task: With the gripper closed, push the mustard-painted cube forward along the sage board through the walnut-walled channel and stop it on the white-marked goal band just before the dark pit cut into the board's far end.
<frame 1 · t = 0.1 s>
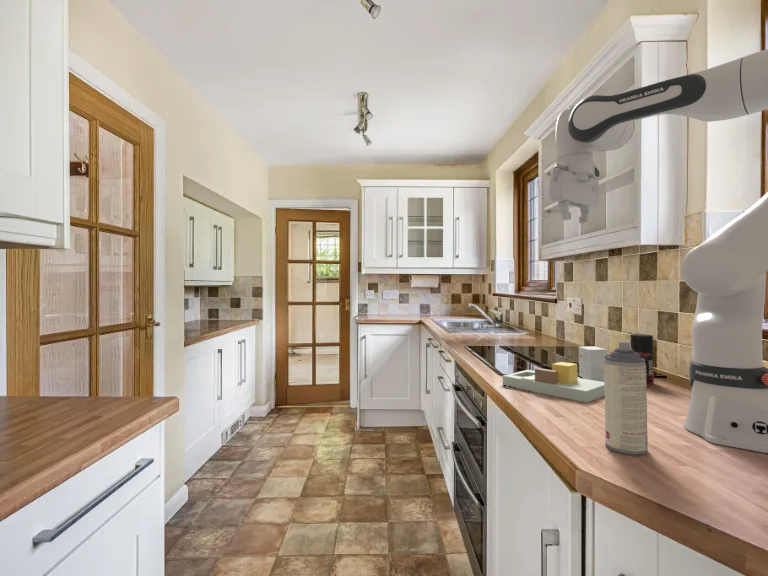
hand: (575, 221, 107), 48 cm above the worktop, tool pointing down, fingers open, 8 cm apart
deodorant: (642, 383, 127), on the worktop
aerosol can: (626, 449, 76), on the worktop
route board: (555, 389, 120), on the worktop
small box: (593, 380, 132), on the worktop
block: (564, 381, 118), point 3 cm above the worktop, touching route board
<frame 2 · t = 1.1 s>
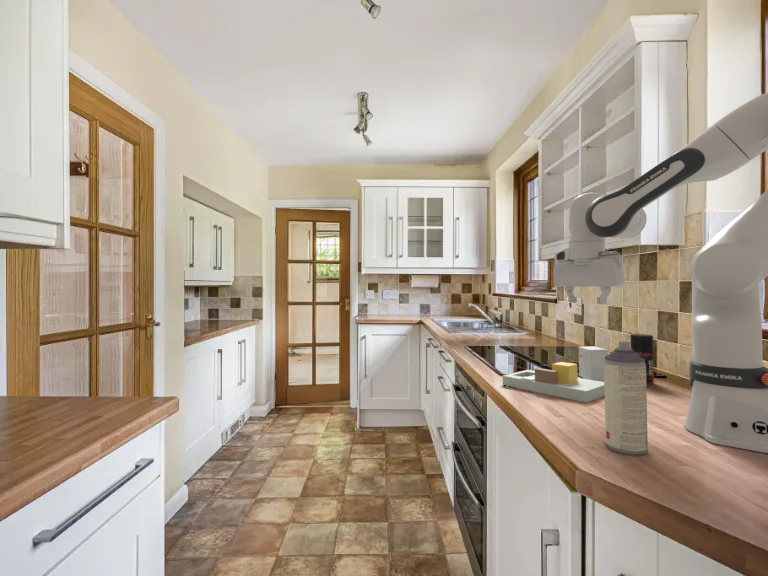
hand: (586, 303, 111), 26 cm above the worktop, tool pointing down, fingers open, 8 cm apart
nothing on the worktop moved.
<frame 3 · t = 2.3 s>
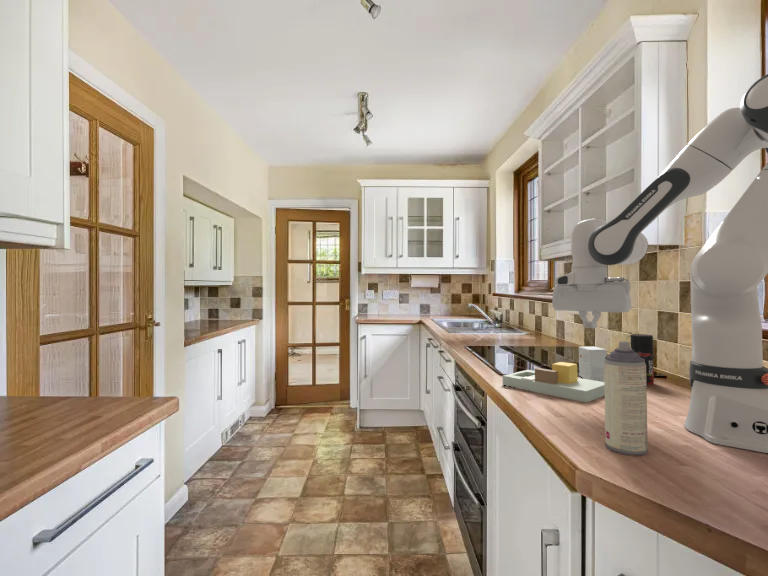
hand: (590, 327, 112), 19 cm above the worktop, tool pointing down, fingers closed
nothing on the worktop moved.
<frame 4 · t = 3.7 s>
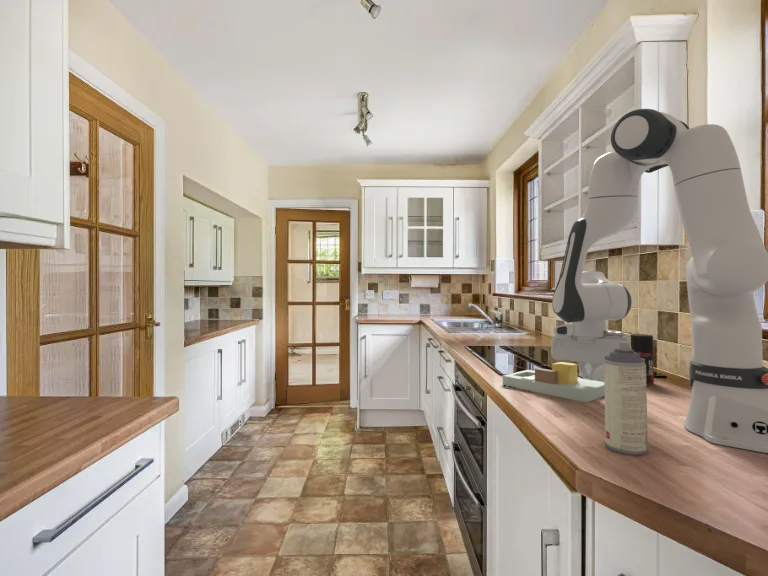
hand: (588, 379, 112), 5 cm above the worktop, tool pointing down, fingers closed
nothing on the worktop moved.
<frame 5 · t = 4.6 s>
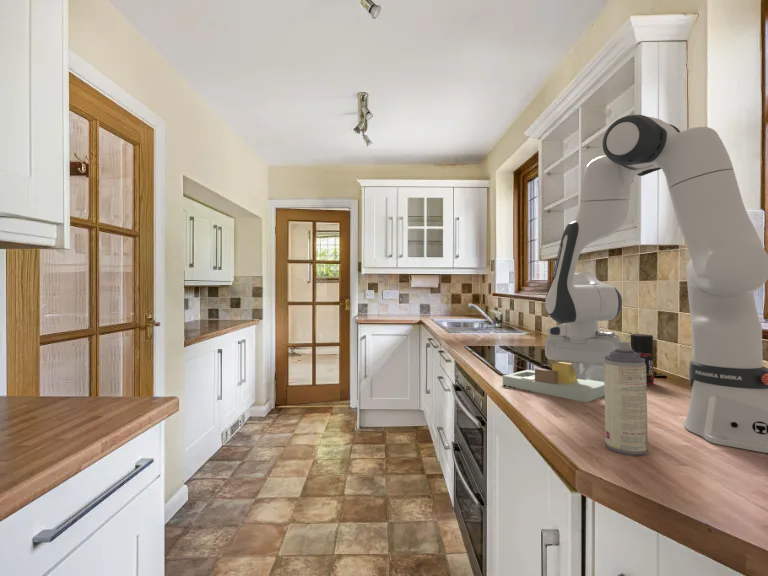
hand: (581, 379, 114), 4 cm above the worktop, tool pointing down, fingers closed
block: (564, 381, 118), point 3 cm above the worktop, touching gripper, route board
everything else where it was.
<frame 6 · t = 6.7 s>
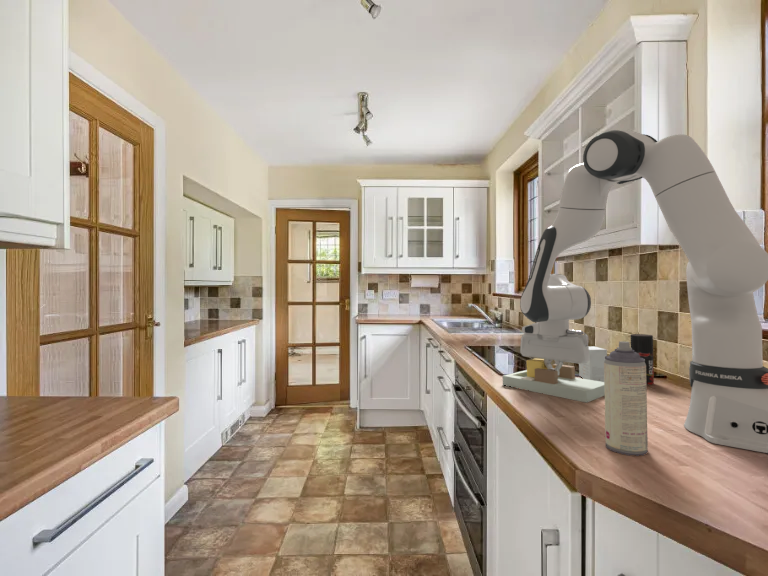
hand: (553, 374, 121), 4 cm above the worktop, tool pointing down, fingers closed
block: (539, 376, 125), point 3 cm above the worktop, touching gripper, route board
everything else where it was.
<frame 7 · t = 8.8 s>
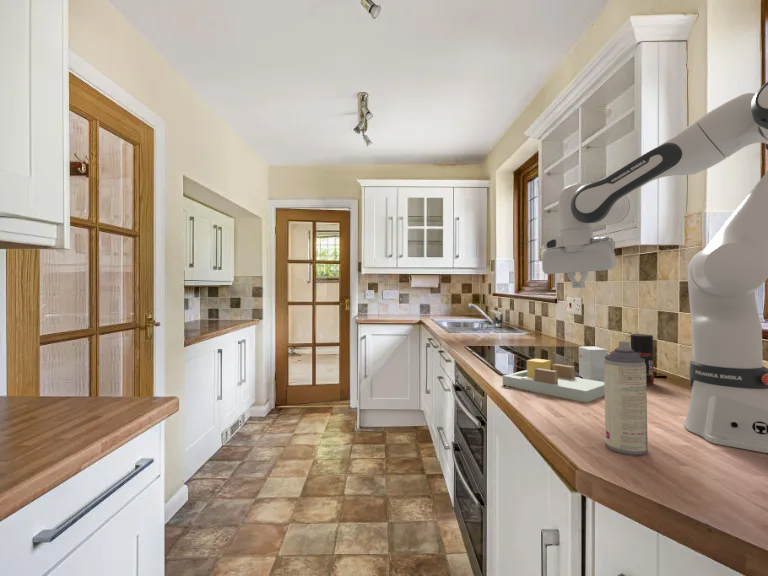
hand: (578, 287, 118), 30 cm above the worktop, tool pointing down, fingers closed
block: (539, 376, 125), point 3 cm above the worktop, touching route board
everything else where it was.
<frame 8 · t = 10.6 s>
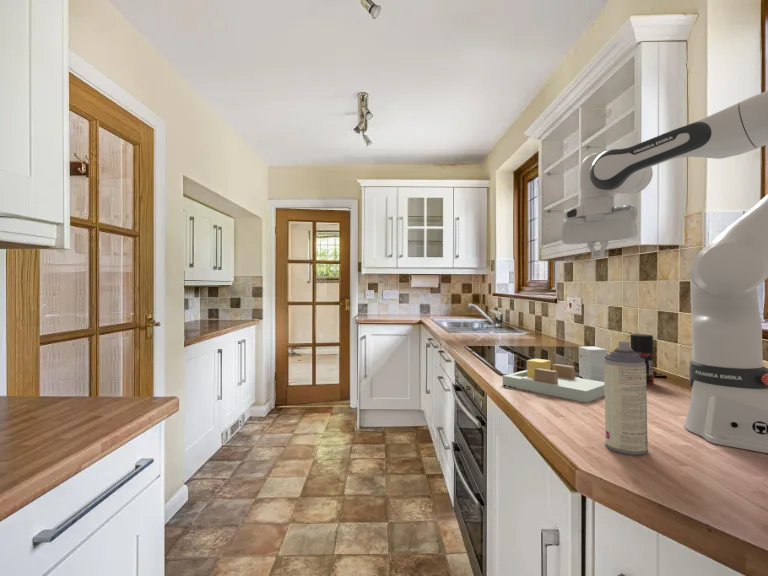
hand: (597, 257, 118), 39 cm above the worktop, tool pointing down, fingers closed
nothing on the worktop moved.
at the end: block inside the target area on the route board (1.0 cm from its centre), point 3.0 cm above the route board's base; block tilted 0°; block moved 8.2 cm from its start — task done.
